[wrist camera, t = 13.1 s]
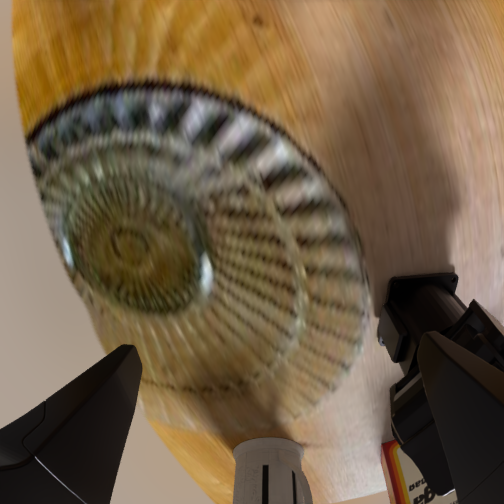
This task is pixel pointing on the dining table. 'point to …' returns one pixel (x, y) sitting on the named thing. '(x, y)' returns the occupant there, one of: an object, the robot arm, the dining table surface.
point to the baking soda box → (407, 479)
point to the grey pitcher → (270, 472)
